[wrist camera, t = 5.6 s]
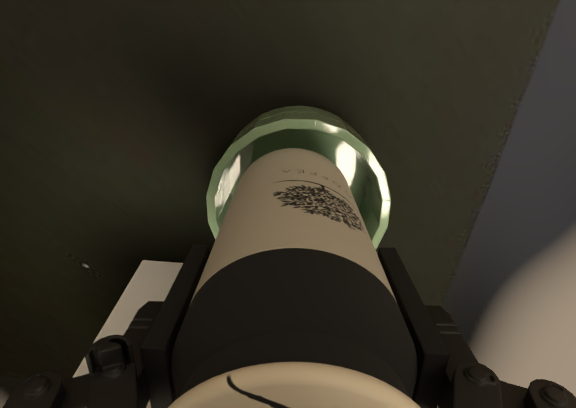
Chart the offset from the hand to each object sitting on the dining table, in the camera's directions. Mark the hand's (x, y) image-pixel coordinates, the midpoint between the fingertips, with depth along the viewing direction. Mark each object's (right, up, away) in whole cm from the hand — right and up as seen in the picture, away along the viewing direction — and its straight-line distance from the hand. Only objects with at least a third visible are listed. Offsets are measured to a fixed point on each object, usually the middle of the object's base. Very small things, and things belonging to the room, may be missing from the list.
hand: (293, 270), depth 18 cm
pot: (+1, +5, +12) cm, 13 cm away
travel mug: (0, +3, +8) cm, 9 cm away
